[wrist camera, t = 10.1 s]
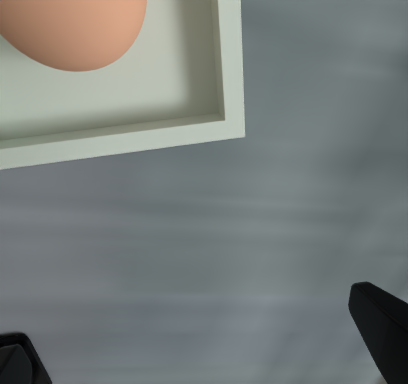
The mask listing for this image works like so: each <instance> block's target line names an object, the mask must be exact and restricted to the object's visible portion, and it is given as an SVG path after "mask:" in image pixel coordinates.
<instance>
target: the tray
mask: <svg viewBox="0 0 408 384" xmlns="http://www.w3.org/2000/svg"><path fill="white" fill-rule="evenodd" d="M239 137H245V121H244V91H243V61H242V31H241V1H240V0H147V6H146V13H145V17H144V21H143V25H142V27H141V30H140V32H139V35H138V36H137V38H136V40H135V41H134V43H133V44H132V46H131V47H130V48H129V50H128V51H127V52H126V53H125V54H124V55H123V56H121V57H120V58H119V59H117V60H116V61H115V62H113V63H111V64H109V65H107V66H105V67H102V68H99V69H96V70H91V71H81V72H72V71H63V70H59V69H54V68H51V67H49V66H46V65H43V64H41V63H39V62H37V61H35V60H33V59H31V58H29V57H28V56H26V55H25V54H23V53H21V52H20V51H19V50H17V49H16V48H15V47H13V46H12V45H11V44H10V43H9V42H8V41H7V40H6V39H5V38H4V37H3V36H2V35H1V34H0V170H1V169H8V168H15V167H23V166H30V165H38V164H45V163H53V162H60V161H68V160H75V159H83V158H90V157H97V156H105V155H112V154H120V153H127V152H135V151H142V150H150V149H157V148H164V147H172V146H179V145H187V144H194V143H202V142H209V141H217V140H224V139H232V138H239Z"/></svg>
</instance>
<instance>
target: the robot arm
mask: <svg viewBox="0 0 408 384" xmlns="http://www.w3.org/2000/svg"><path fill="white" fill-rule="evenodd" d="M348 306H349V311H350V314H351V316H352V318H353V320H354V322H355V324H356V326H357V328H358V330H359V332H360V334H361V336H362V338H363V340H364V342H365V344H366V346H367V348H368V350H369V352H370V354H371V356H372V358H373V360H374V362H375V363H376V365H377V367H378V369H379V371H380V372H381V374H382V376H383V377H384V379H385V380H386V382H387V384H408V303H406V302H404V301H403V300H401V299H399V298H397V297H395V296H393V295H392V294H390V293H388V292H386V291H384V290H382V289H381V288H379V287H377V286H375V285H373V284H372V283H370V282H359V283H354V284H353V285H352V286H351V291H350V297H349V303H348ZM0 384H52V381H51V379H50V377H49V375H48V373H47V371H46V370H45V368H44V366H43V364H42V362H41V360H40V358H39V356H38V354H37V352H36V351H35V349H34V347H33V345H32V343H31V341H30V339H29V338H28V337H27V336H25V335H18V336H12V337H7V338H1V339H0Z"/></svg>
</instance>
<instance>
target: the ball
mask: <svg viewBox="0 0 408 384" xmlns="http://www.w3.org/2000/svg"><path fill="white" fill-rule="evenodd" d="M146 6H147V0H0V34H1V35H2V36H3V37H4V38H5V39H6V40H7V41H8V42H9V43H10V44H11V45H12V46H13V47H15V48H16V49H17V50H19V51H20V52H21V53H23V54H25V55H26V56H28V57H29V58H31V59H33V60H35V61H37V62H39V63H41V64H43V65H46V66H49V67H51V68H54V69H59V70H63V71H72V72H81V71H91V70H96V69H99V68H102V67H105V66H107V65H109V64H111V63H113V62H115V61H116V60H117V59H119V58H120V57H121V56H123V55H124V54H125V53H126V52H127V51H128V50H129V48H130V47H131V46H132V44H133V43H134V41H135V40H136V38H137V36H138V35H139V32H140V30H141V27H142V25H143V21H144V17H145V13H146Z"/></svg>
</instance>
